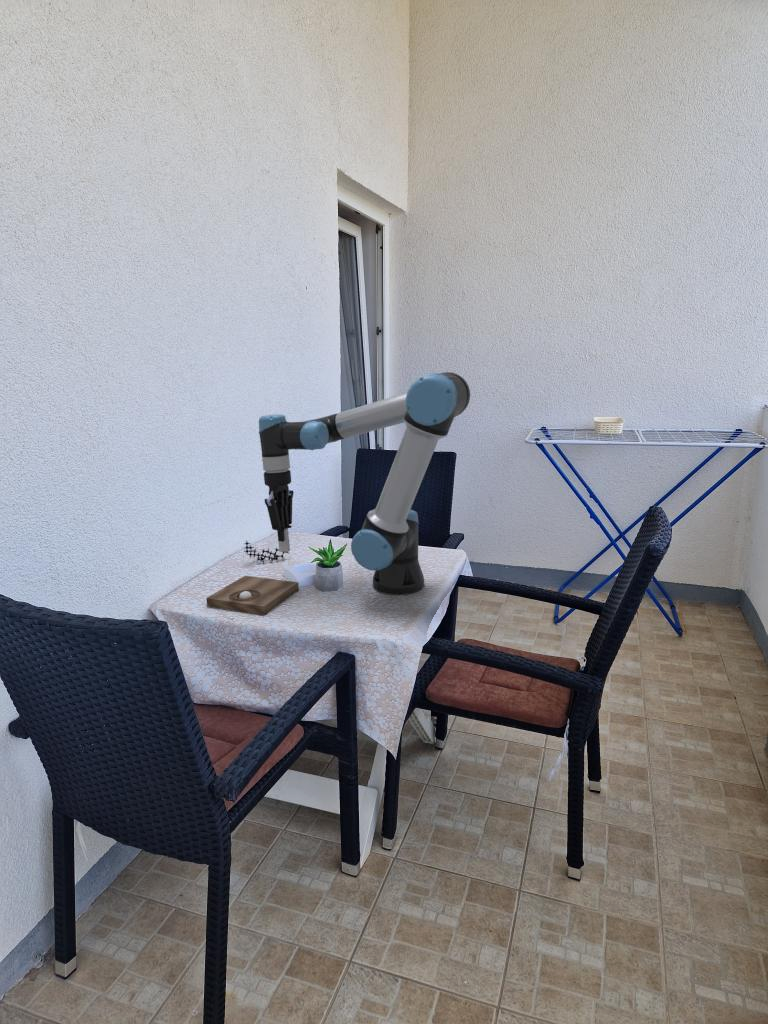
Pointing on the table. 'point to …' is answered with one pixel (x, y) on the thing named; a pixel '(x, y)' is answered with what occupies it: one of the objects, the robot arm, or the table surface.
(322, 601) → the table surface
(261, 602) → the wooden board
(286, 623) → the table surface
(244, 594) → the ball
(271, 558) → the molecular model
